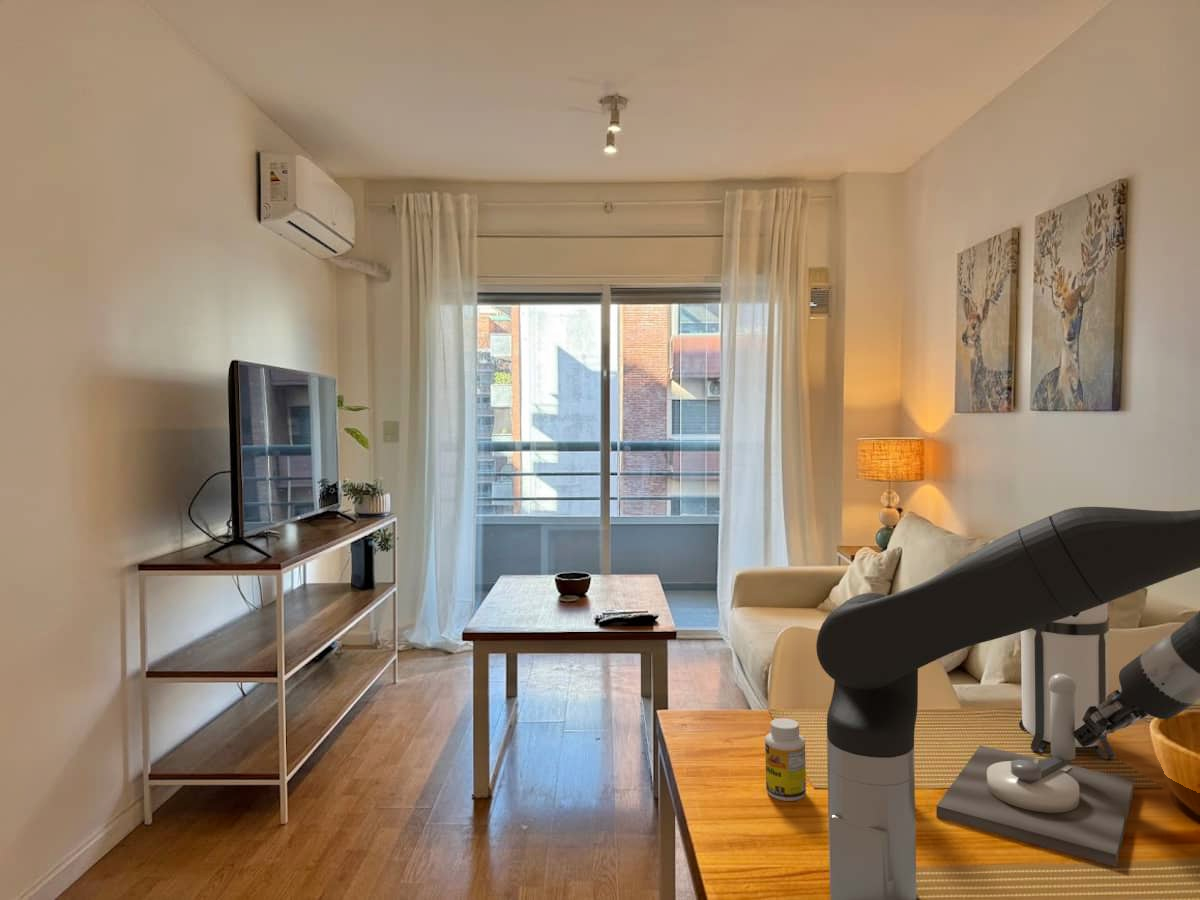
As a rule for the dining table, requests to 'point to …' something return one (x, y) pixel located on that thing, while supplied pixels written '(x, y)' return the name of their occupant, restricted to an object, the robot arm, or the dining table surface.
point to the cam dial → (1044, 762)
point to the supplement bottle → (785, 761)
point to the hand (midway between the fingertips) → (1081, 739)
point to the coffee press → (1065, 671)
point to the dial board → (1073, 832)
